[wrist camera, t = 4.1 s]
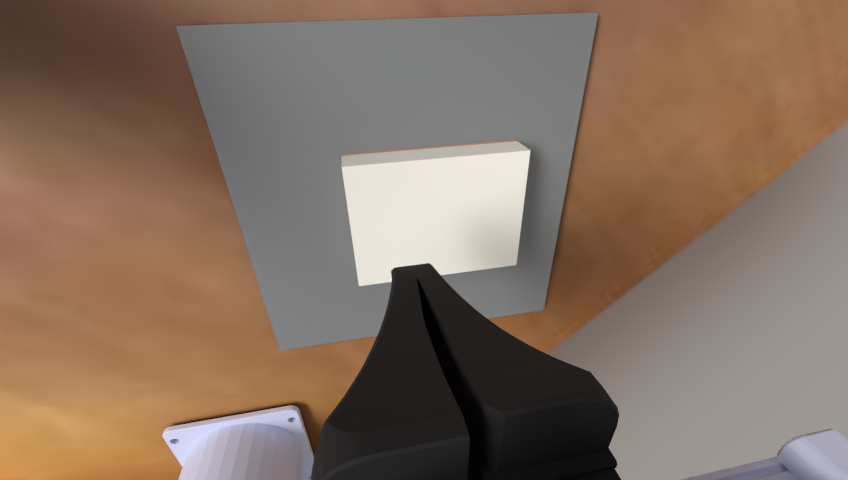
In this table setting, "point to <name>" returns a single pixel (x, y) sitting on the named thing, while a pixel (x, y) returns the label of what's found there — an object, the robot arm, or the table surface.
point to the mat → (382, 143)
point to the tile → (435, 207)
